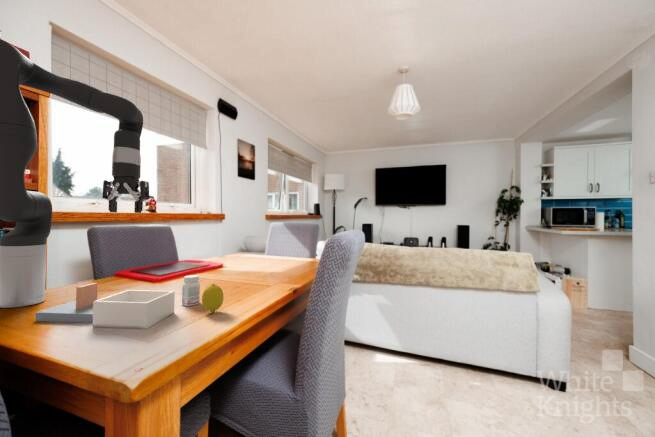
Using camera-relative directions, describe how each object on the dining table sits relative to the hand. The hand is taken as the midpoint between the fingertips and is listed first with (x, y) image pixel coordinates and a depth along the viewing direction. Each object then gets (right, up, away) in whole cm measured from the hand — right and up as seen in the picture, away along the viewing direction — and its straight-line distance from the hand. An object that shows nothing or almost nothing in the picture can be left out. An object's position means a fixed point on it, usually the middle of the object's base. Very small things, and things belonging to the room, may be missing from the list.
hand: (125, 212), depth 91 cm
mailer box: (+18, -28, -20) cm, 39 cm away
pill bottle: (+25, -28, -7) cm, 38 cm away
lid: (+2, -27, -17) cm, 32 cm away
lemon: (+34, -28, -14) cm, 47 cm away
